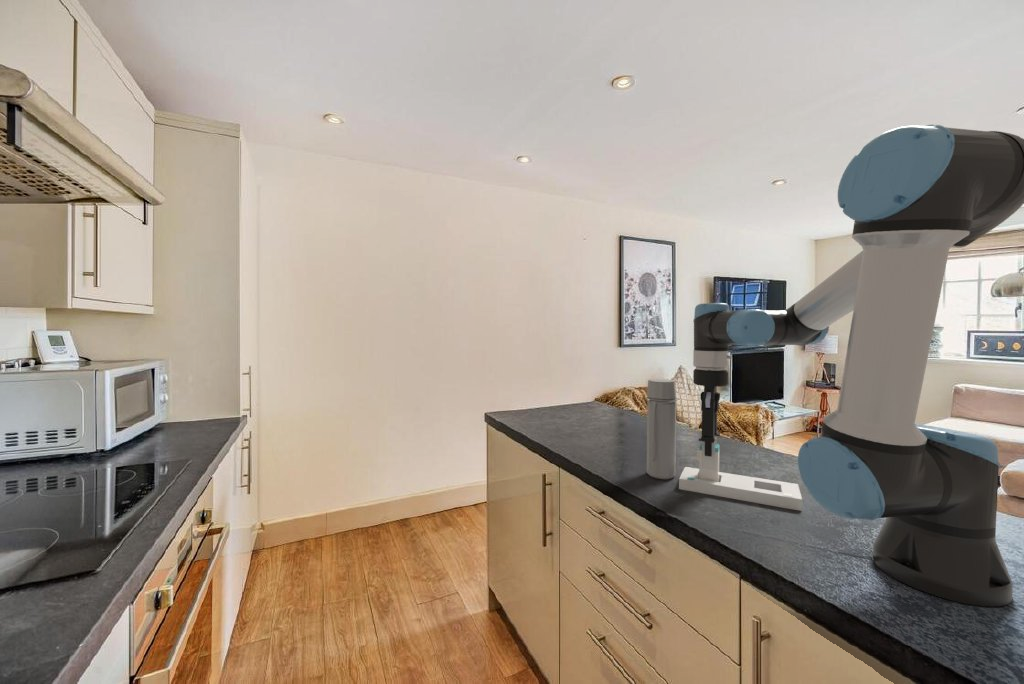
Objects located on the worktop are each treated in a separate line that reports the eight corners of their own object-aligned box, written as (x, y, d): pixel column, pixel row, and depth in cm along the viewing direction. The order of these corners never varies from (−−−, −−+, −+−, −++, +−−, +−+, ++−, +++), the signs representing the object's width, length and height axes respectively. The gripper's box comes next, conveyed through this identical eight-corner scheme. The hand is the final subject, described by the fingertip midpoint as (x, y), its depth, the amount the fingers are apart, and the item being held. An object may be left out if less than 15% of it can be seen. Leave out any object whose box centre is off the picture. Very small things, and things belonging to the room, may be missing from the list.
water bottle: (653, 468, 115) (654, 378, 114) (681, 475, 109) (682, 380, 109) (636, 477, 108) (637, 380, 108) (665, 485, 103) (666, 383, 102)
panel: (801, 513, 87) (802, 498, 87) (678, 491, 99) (679, 478, 99) (797, 497, 96) (797, 483, 96) (684, 478, 108) (685, 466, 108)
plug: (717, 490, 98) (718, 448, 97) (696, 487, 100) (696, 445, 100) (718, 485, 101) (719, 444, 101) (698, 481, 103) (698, 441, 103)
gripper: (726, 372, 90) (724, 480, 91) (730, 366, 105) (728, 458, 106) (688, 370, 94) (687, 474, 94) (697, 365, 109) (696, 454, 110)
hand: (709, 465), depth 100 cm, fingers open, 4 cm apart
